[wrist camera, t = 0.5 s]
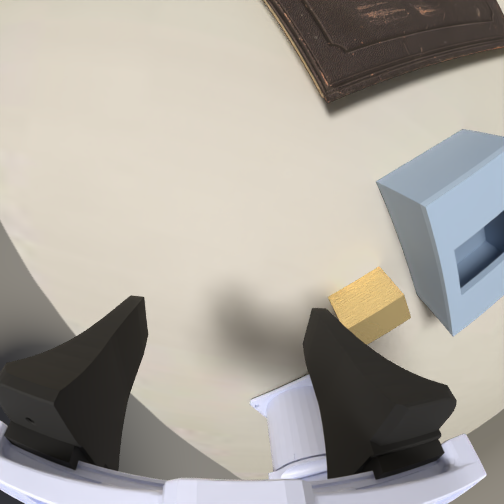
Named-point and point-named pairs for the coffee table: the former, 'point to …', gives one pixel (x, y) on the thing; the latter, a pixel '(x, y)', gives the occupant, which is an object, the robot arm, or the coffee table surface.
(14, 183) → the coffee table surface
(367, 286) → the tan wooden block
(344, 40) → the hardcover book
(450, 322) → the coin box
